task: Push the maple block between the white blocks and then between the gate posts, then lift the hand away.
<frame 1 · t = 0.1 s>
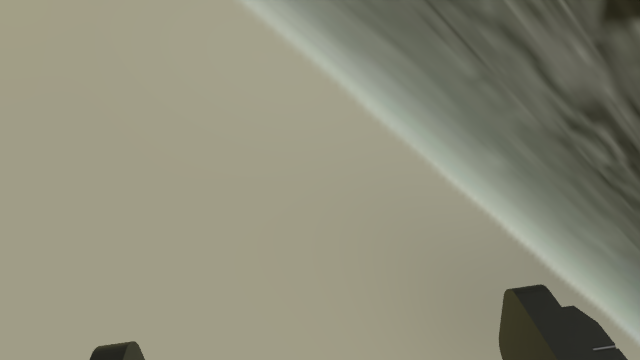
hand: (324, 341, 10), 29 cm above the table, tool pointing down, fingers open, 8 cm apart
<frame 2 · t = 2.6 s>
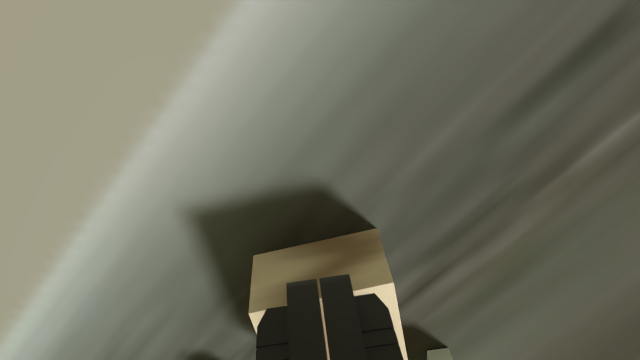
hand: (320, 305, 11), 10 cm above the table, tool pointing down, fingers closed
maple block: (329, 292, 24), on the table
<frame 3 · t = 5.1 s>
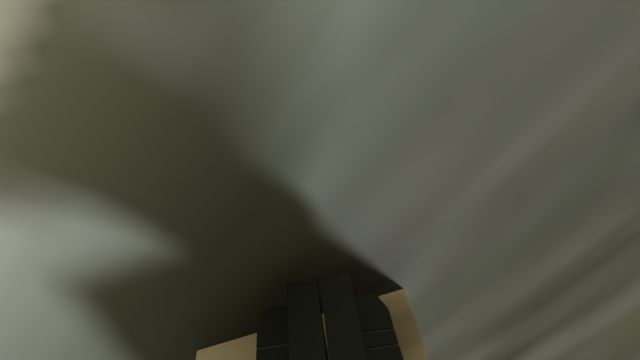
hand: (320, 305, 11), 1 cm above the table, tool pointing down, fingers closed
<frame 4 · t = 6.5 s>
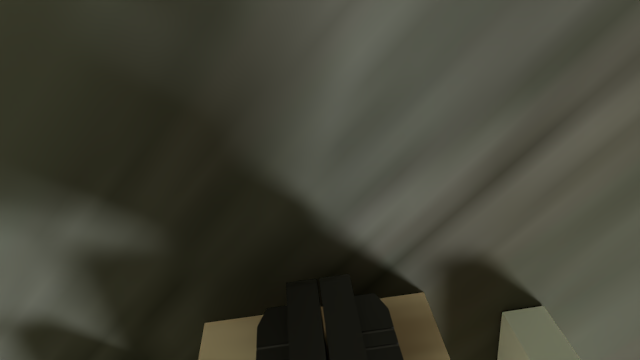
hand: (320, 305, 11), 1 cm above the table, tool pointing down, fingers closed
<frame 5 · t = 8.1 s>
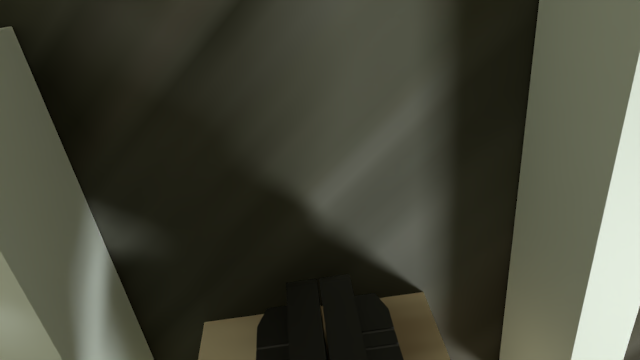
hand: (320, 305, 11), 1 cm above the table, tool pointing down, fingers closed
white blocks: (318, 245, 12), on the table
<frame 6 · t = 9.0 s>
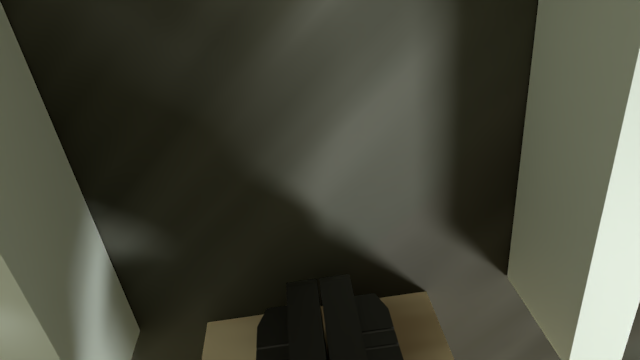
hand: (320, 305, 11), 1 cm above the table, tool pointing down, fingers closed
white blocks: (295, 91, 10), on the table
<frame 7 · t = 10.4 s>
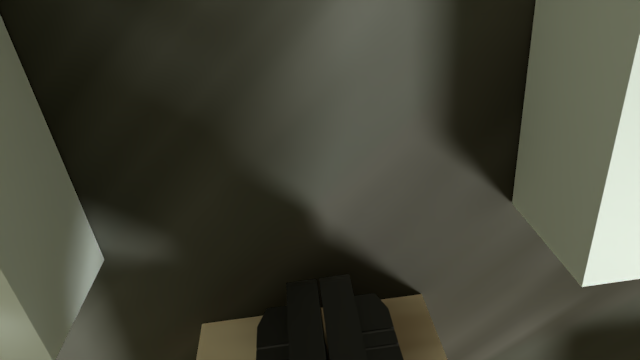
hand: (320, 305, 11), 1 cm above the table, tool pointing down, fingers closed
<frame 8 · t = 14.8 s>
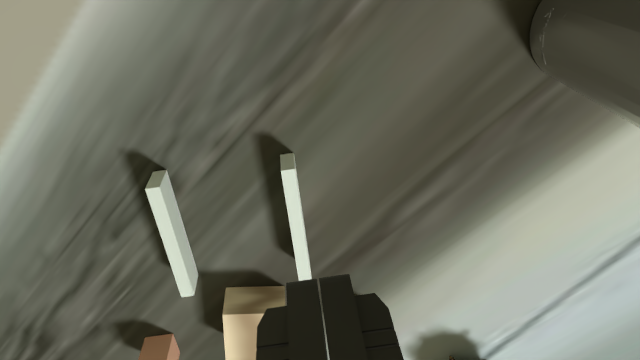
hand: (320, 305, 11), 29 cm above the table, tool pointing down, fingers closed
gate posts: (262, 330, 52), on the table
white blocks: (236, 218, 44), on the table
maple block: (256, 310, 50), on the table
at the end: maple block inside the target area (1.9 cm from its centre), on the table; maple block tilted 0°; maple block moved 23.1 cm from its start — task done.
